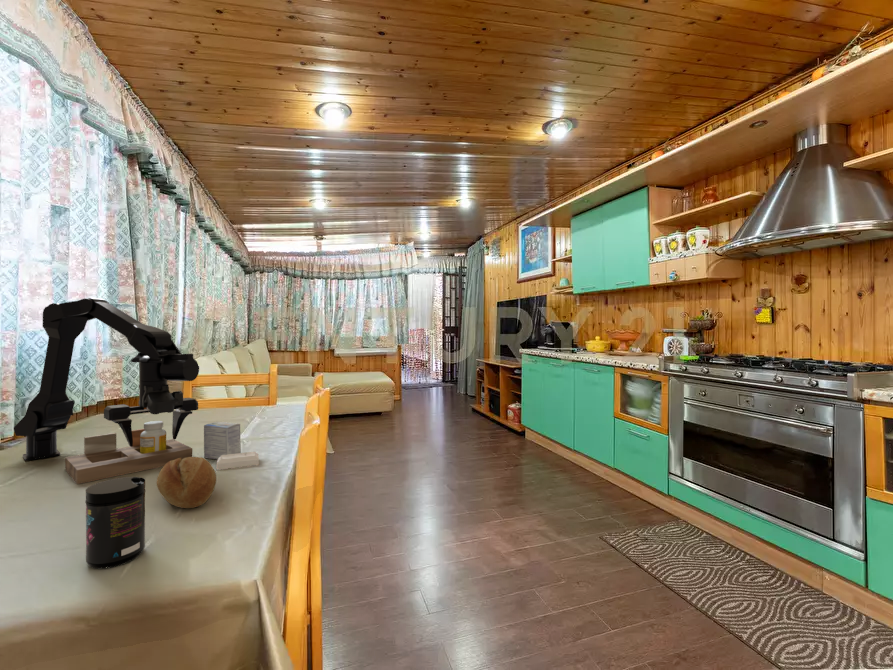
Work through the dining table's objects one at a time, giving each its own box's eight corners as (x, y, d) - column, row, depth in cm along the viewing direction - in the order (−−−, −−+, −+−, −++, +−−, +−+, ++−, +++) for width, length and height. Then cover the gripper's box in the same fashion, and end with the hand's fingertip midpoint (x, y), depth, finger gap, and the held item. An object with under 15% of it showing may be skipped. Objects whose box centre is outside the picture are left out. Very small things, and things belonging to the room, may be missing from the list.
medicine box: (241, 456, 109) (241, 423, 109) (227, 461, 105) (227, 426, 105) (218, 453, 112) (218, 421, 111) (203, 458, 107) (203, 424, 107)
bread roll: (162, 520, 72) (162, 474, 72) (152, 494, 83) (152, 454, 83) (223, 505, 78) (224, 463, 78) (207, 483, 90) (207, 446, 90)
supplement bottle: (143, 465, 101) (143, 425, 101) (137, 461, 105) (137, 422, 105) (169, 460, 105) (169, 422, 105) (162, 456, 109) (162, 419, 109)
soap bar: (258, 466, 102) (258, 455, 102) (216, 471, 98) (216, 460, 98) (258, 461, 106) (258, 450, 106) (217, 465, 103) (217, 454, 103)
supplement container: (121, 542, 64) (121, 475, 64) (156, 548, 63) (156, 479, 62) (72, 566, 58) (72, 491, 58) (110, 574, 56) (110, 496, 56)
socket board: (65, 470, 98) (65, 440, 98) (173, 450, 114) (173, 424, 114) (77, 484, 89) (77, 451, 89) (192, 460, 105) (192, 432, 105)
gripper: (115, 386, 93) (115, 457, 93) (206, 379, 107) (206, 440, 107) (103, 382, 100) (103, 448, 100) (190, 376, 114) (190, 434, 114)
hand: (153, 442), depth 105 cm, fingers open, 9 cm apart
